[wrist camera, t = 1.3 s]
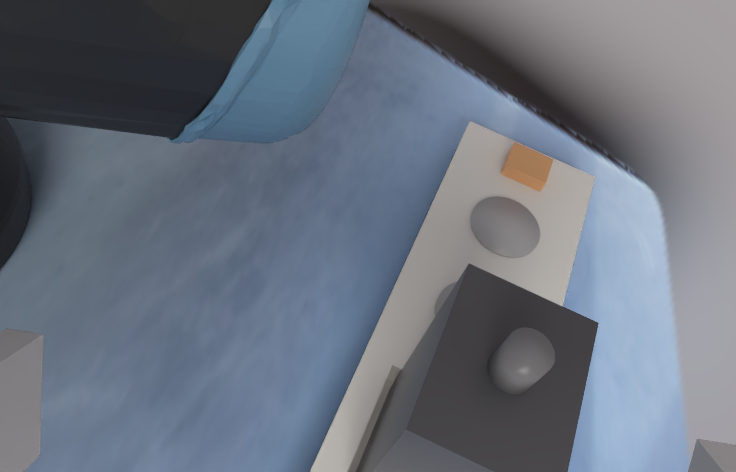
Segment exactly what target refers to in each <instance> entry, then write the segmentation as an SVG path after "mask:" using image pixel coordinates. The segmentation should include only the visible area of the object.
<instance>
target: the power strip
mask: <svg viewBox="0 0 736 472" xmlns="http://www.w3.org/2000/svg"><path fill="white" fill-rule="evenodd" d="M594 180H595V177H594V176H592V175H590V174H588V173H585V172H583V171H581V170H579V169H576V168H574V167H572V166H570V165H568V164H565V163H563V162H561V161H559V160H556V159H554V158H552V157H550V156H547V155H545V154H543V153H541V152H539V151H536V150H534V149H532V148H530V147H527V146H525V145H523V144H521V143H518V142H516V141H514V140H512V139H509V138H507V137H505V136H503V135H501V134H498V133H496V132H494V131H492V130H489V129H487V128H485V127H483V126H480V125H478V124H476V123H474V122H472V121H470V122H469V124H468V126H467V128H466V130H465V132H464V134H463V136H462V139H461V141H460V143H459V145H458V147H457V149H456V151H455V154H454V156H453V158H452V160H451V162H450V164H449V167H448V169H447V171H446V173H445V175H444V178H443V180H442V182H441V184H440V186H439V189H438V191H437V193H436V195H435V197H434V200H433V202H432V204H431V206H430V208H429V211H428V213H427V215H426V217H425V219H424V221H423V224H422V226H421V228H420V230H419V232H418V235H417V237H416V239H415V241H414V243H413V246H412V248H411V250H410V252H409V254H408V257H407V259H406V261H405V263H404V265H403V268H402V270H401V272H400V274H399V276H398V279H397V281H396V283H395V285H394V287H393V289H392V292H391V294H390V296H389V298H388V300H387V303H386V305H385V307H384V309H383V311H382V314H381V316H380V318H379V320H378V322H377V325H376V327H375V329H374V331H373V333H372V336H371V338H370V340H369V342H368V344H367V346H366V349H365V351H364V353H363V355H362V357H361V360H360V362H359V364H358V366H357V368H356V371H355V373H354V375H353V377H352V379H351V382H350V384H349V386H348V388H347V390H346V393H345V395H344V397H343V399H342V401H341V404H340V406H339V408H338V410H337V412H336V414H335V417H334V419H333V421H332V423H331V425H330V428H329V430H328V432H327V434H326V436H325V439H324V441H323V443H322V445H321V447H320V450H319V452H318V454H317V456H316V458H315V461H314V463H313V465H312V467H311V469H310V471H309V472H356V470H357V467H358V465H359V462H360V460H361V457H362V455H363V453H364V450H365V448H366V445H367V443H368V440H369V438H370V436H371V433H372V431H373V428H374V426H375V423H376V421H377V419H378V416H379V414H380V411H381V409H382V406H383V404H384V402H385V399H386V397H387V394H388V392H389V389H390V388H391V386H392V385H393V383H394V381H395V380H396V378H397V377H398V375H399V373H400V372H401V370H402V369H403V367H404V365H405V364H406V362H407V361H408V359H409V358H410V356H411V354H412V353H413V351H414V350H415V348H416V346H417V345H418V343H419V342H420V340H421V338H422V337H423V335H424V334H425V332H426V331H427V329H428V327H429V326H430V324H431V323H432V321H433V319H434V318H435V316H436V315H437V313H438V311H439V310H440V308H441V307H442V305H443V303H444V302H445V300H446V299H447V297H448V296H449V294H450V292H451V291H452V289H453V288H454V286H455V284H456V283H457V281H458V280H459V278H460V276H461V275H462V273H463V272H464V270H465V269H466V267H467V265H468V264H472V265H474V266H476V267H478V268H480V269H482V270H485V271H487V272H489V273H491V274H493V275H495V276H498V277H500V278H502V279H504V280H506V281H508V282H511V283H513V284H515V285H517V286H519V287H521V288H524V289H526V290H528V291H530V292H532V293H534V294H537V295H539V296H541V297H543V298H545V299H547V300H550V301H552V302H554V303H556V304H558V305H560V306H563V303H564V299H565V295H566V291H567V287H568V283H569V279H570V275H571V271H572V267H573V263H574V259H575V255H576V251H577V247H578V243H579V239H580V235H581V232H582V228H583V224H584V220H585V216H586V212H587V208H588V204H589V200H590V196H591V192H592V188H593V184H594Z"/></svg>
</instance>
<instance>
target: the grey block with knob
mask: <svg viewBox="0 0 736 472" xmlns="http://www.w3.org/2000/svg"><path fill="white" fill-rule="evenodd" d="M597 328H598V323H597V322H595V321H593V320H591V319H589V318H586V317H584V316H582V315H580V314H578V313H576V312H573V311H571V310H569V309H567V308H565V307H563V306H560V305H558V304H556V303H554V302H552V301H550V300H547V299H545V298H543V297H541V296H539V295H537V294H534V293H532V292H530V291H528V290H526V289H524V288H521V287H519V286H517V285H515V284H513V283H511V282H508V281H506V280H504V279H502V278H500V277H498V276H495V275H493V274H491V273H489V272H487V271H485V270H482V269H480V268H478V267H476V266H474V265H472V264H468V265H467V267H466V269H465V270H464V272H463V273H462V275H461V276H460V278H459V280H458V281H457V283H456V284H455V286H454V288H453V289H452V291H451V292H450V294H449V296H448V297H447V299H446V300H445V302H444V303H443V305H442V307H441V308H440V310H439V311H438V313H437V315H436V316H435V318H434V319H433V321H432V323H431V324H430V326H429V327H428V329H427V331H426V332H425V334H424V335H423V337H422V338H421V340H420V342H419V343H418V345H417V346H416V348H415V350H414V351H413V353H412V354H411V356H410V358H409V359H408V361H407V362H406V364H405V365H404V367H403V369H402V370H401V372H400V373H399V375H398V377H397V378H396V380H395V381H394V383H393V385H392V386H391V388H390V389H389V392H388V394H387V397H386V399H385V402H384V404H383V406H382V409H381V411H380V414H379V416H378V419H377V421H376V423H375V426H374V428H373V431H372V433H371V436H370V438H369V440H368V443H367V445H366V448H365V450H364V453H363V455H362V457H361V460H360V462H359V465H358V467H357V470H356V472H568V467H569V462H570V457H571V453H572V448H573V443H574V438H575V433H576V429H577V424H578V419H579V414H580V409H581V405H582V400H583V395H584V390H585V385H586V380H587V376H588V371H589V366H590V361H591V356H592V352H593V347H594V342H595V337H596V332H597Z"/></svg>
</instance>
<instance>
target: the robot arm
mask: <svg viewBox="0 0 736 472" xmlns="http://www.w3.org/2000/svg"><path fill="white" fill-rule="evenodd" d="M369 2H370V0H0V268H1V267H2V265H3V264H4V263H5V262H6V260H7V259H8V257H9V256H10V255H11V253H12V252H13V250H14V248H15V247H16V245H17V243H18V241H19V239H20V237H21V235H22V233H23V231H24V228H25V225H26V222H27V219H28V215H29V211H30V205H31V181H30V175H29V171H28V168H27V165H26V162H25V159H24V156H23V153H22V150H21V147H20V144H19V141H18V138H17V136H16V134H15V132H14V130H13V128H12V127H11V125H10V123H9V122H8V120H7V118H6V117H9V118H17V119H25V120H33V121H41V122H49V123H57V124H65V125H73V126H81V127H89V128H97V129H105V130H113V131H121V132H129V133H137V134H145V135H152V136H160V137H166V138H167V139H169V140H170V142H173V143H179V144H180V143H181V142H186V143H189V142H192V141H194V140H196V139H197V138H200V139H213V140H227V141H240V142H254V143H273V142H276V141H280V140H283V139H287V138H288V137H289V136H292V135H295V134H299V133H300V132H302V131H303V130H305V129H306V128H307V127H309V126H310V125H311V124H312V123H313V122H314V121H315V120H316V119H317V117H318V116H319V115H320V113H321V112H322V111H323V110H324V108H325V106H326V105H327V103H328V102H329V100H330V98H331V97H332V95H333V93H334V91H335V89H336V87H337V85H338V83H339V81H340V79H341V77H342V74H343V72H344V70H345V68H346V66H347V63H348V61H349V58H350V56H351V53H352V51H353V48H354V45H355V43H356V40H357V37H358V35H359V32H360V29H361V27H362V23H363V20H364V17H365V14H366V11H367V8H368V5H369ZM42 361H43V334H39V333H32V332H26V331H20V330H14V329H5V330H3V331H1V332H0V472H23V471H24V470H26V469H27V468H28V467H29V466H30V465H31V464H32V463H33V462H34V461H35V460H36V459H37V458H38V457H39V456H40V436H41V399H42ZM688 472H736V445H732V444H726V443H720V442H713V441H708V440H701V439H697V441H696V445H695V448H694V452H693V456H692V459H691V463H690V466H689V470H688Z"/></svg>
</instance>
